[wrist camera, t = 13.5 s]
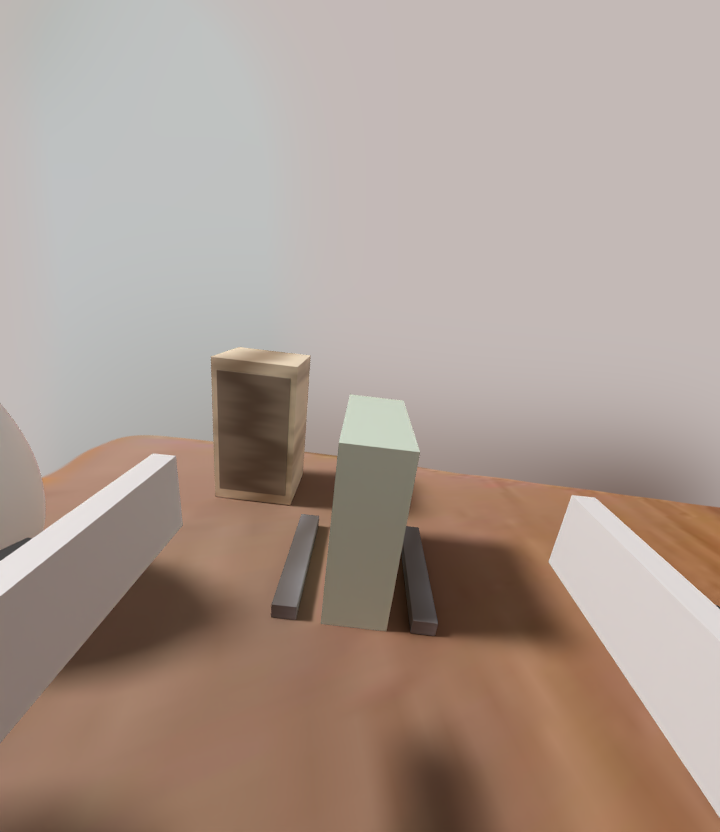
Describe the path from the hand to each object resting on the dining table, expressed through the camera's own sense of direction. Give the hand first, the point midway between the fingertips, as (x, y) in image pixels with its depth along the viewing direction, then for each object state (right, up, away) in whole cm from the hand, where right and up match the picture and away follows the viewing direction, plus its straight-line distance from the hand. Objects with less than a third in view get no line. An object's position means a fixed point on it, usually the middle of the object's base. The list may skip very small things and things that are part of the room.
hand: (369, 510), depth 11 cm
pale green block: (-1, -8, +13) cm, 16 cm away
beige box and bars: (-5, -6, +17) cm, 19 cm away
